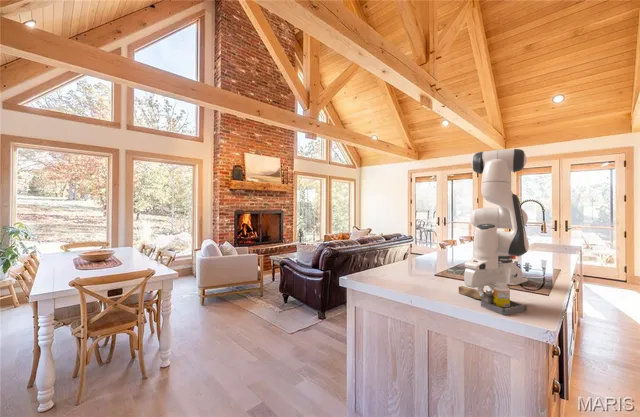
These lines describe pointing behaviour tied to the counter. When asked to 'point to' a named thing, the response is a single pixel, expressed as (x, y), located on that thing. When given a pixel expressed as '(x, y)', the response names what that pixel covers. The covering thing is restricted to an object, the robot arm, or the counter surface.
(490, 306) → the frame
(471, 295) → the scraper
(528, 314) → the counter surface
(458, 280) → the counter surface
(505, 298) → the supplement bottle
